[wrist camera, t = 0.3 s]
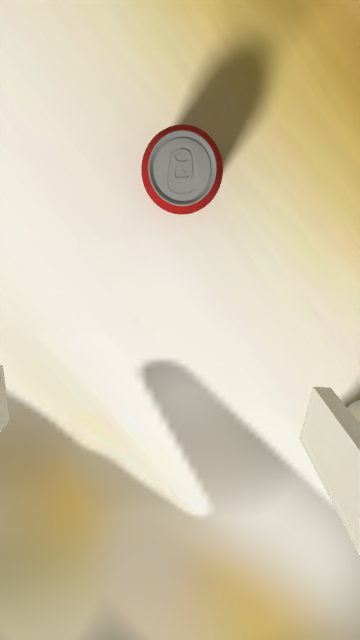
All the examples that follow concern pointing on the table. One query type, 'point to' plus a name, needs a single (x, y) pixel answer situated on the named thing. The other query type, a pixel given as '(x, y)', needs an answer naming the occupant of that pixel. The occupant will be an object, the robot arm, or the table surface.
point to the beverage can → (182, 169)
